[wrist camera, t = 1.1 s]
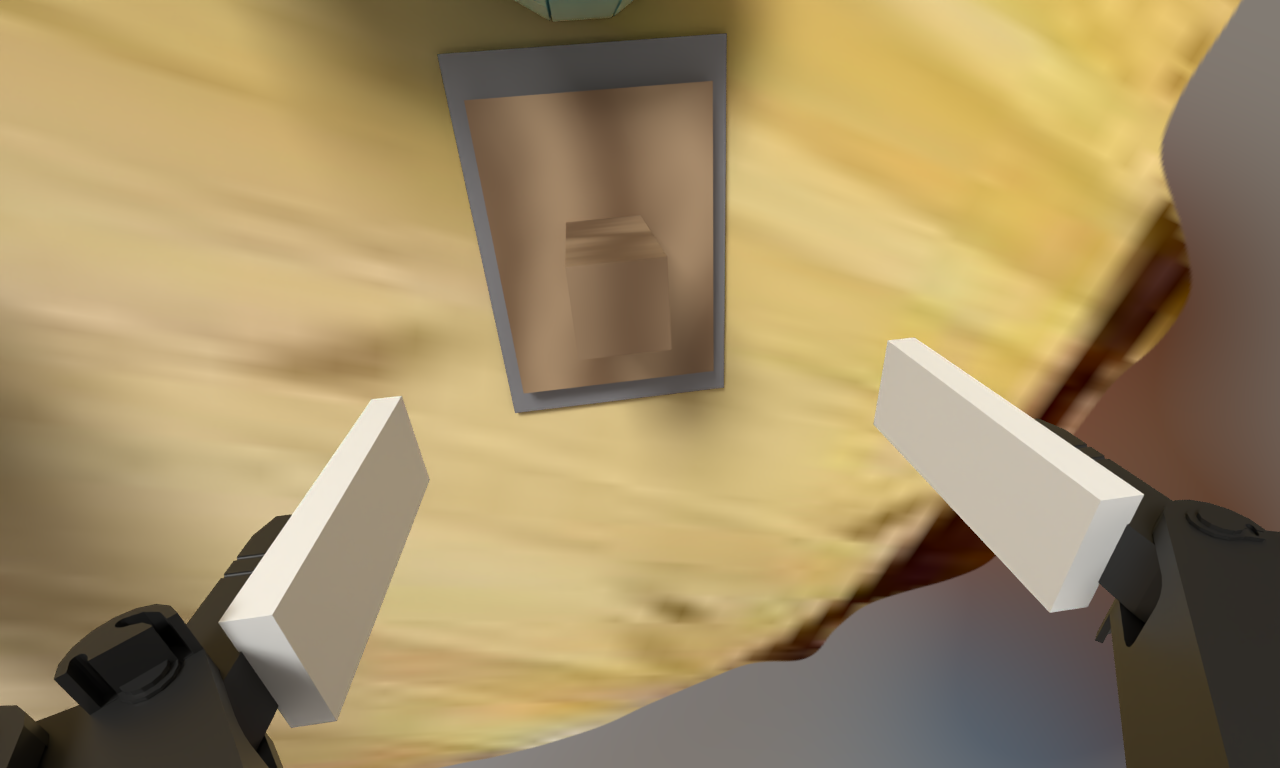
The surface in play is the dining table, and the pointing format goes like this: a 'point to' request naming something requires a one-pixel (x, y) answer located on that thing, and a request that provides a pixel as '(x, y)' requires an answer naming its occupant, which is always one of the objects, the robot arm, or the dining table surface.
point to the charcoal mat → (584, 73)
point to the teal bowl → (575, 8)
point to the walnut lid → (602, 230)
